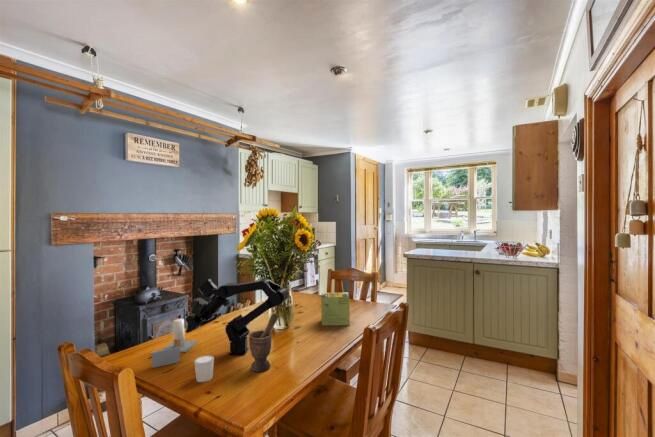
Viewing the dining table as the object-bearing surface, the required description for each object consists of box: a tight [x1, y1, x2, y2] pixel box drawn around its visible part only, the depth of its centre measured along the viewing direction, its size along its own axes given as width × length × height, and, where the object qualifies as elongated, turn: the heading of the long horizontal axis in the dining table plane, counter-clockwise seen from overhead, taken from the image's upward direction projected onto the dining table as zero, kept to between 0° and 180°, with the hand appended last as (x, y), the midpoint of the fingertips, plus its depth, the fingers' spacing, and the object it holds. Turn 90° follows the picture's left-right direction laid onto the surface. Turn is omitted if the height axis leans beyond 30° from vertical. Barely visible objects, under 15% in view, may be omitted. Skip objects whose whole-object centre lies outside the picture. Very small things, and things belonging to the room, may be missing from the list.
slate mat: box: [161, 340, 199, 354], centre depth 144 cm, size 12×12×1 cm
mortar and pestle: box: [248, 313, 279, 373], centre depth 123 cm, size 12×9×20 cm
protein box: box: [320, 291, 351, 326], centre depth 173 cm, size 10×15×16 cm
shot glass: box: [193, 355, 215, 383], centre depth 115 cm, size 7×7×7 cm
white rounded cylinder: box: [172, 318, 186, 348], centre depth 144 cm, size 5×5×12 cm
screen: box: [151, 346, 181, 369], centre depth 127 cm, size 10×1×6 cm, turn 118°
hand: (193, 329), depth 142 cm, fingers open, 9 cm apart
